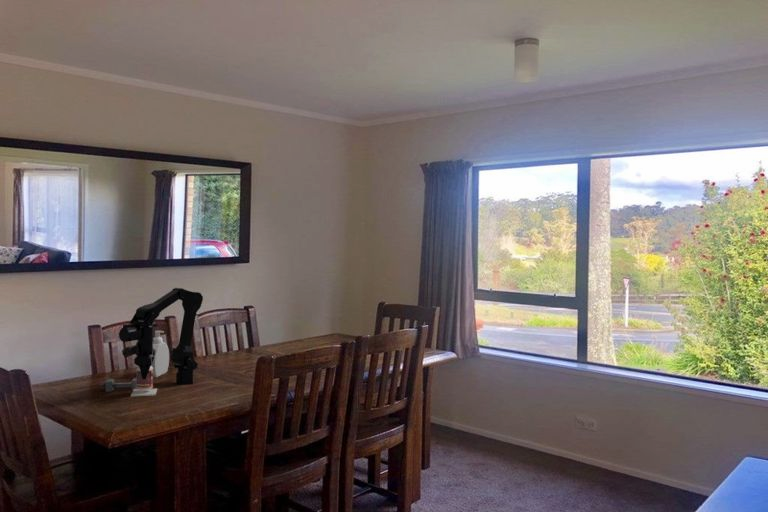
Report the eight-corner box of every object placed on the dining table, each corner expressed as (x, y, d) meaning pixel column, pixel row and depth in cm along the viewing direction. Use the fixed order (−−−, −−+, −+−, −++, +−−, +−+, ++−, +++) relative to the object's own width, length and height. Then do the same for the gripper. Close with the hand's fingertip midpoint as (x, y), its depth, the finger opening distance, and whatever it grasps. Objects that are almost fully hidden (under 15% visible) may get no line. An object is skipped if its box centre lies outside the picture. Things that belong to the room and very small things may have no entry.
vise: (140, 385, 252) (140, 376, 252) (138, 390, 245) (138, 380, 244) (101, 387, 248) (101, 377, 248) (97, 392, 240) (97, 382, 240)
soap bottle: (155, 378, 265) (156, 333, 265) (143, 378, 265) (144, 333, 265) (170, 370, 281) (170, 328, 281) (158, 370, 281) (159, 328, 281)
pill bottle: (154, 389, 240) (154, 362, 239) (138, 391, 236) (138, 363, 236) (150, 385, 245) (151, 359, 244) (134, 387, 242) (135, 360, 241)
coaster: (157, 389, 246) (157, 388, 246) (155, 395, 237) (155, 394, 237) (133, 390, 244) (133, 389, 244) (130, 396, 235) (130, 395, 235)
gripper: (126, 335, 247) (126, 372, 247) (120, 343, 229) (119, 383, 229) (155, 334, 250) (155, 371, 250) (151, 342, 232) (150, 382, 232)
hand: (144, 377), depth 240 cm, fingers closed on pill bottle, 6 cm apart
